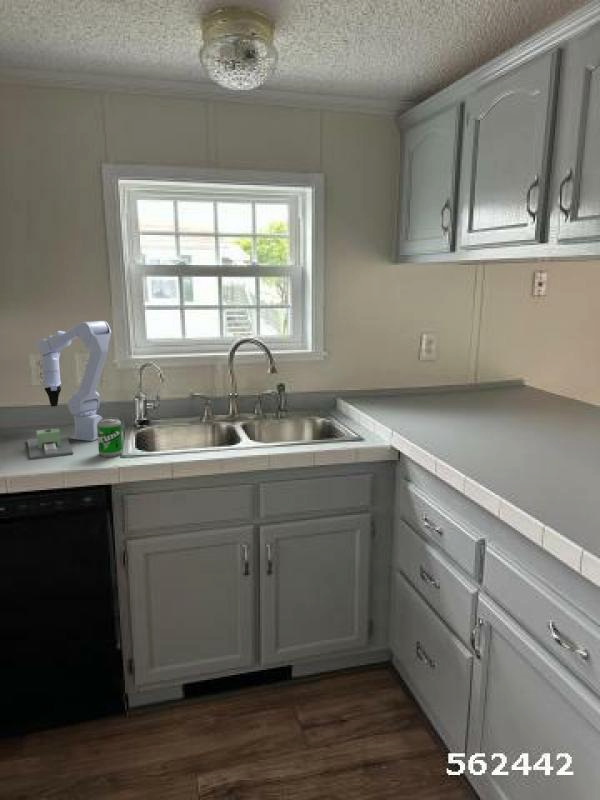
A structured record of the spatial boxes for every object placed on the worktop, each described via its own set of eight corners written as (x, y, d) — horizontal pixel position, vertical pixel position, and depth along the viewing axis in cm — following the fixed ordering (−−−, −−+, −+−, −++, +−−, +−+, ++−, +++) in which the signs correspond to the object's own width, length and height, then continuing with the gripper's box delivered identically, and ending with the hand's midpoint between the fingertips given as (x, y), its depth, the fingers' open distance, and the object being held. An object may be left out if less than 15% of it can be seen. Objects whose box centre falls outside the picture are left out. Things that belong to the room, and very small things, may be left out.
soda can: (102, 450, 187) (100, 416, 184) (124, 450, 188) (123, 416, 185) (96, 457, 180) (93, 422, 177) (119, 457, 180) (117, 422, 178)
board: (66, 437, 202) (66, 431, 201) (72, 454, 183) (72, 447, 182) (27, 441, 196) (26, 435, 195) (29, 459, 177) (29, 452, 176)
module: (59, 442, 193) (58, 426, 192) (60, 446, 189) (59, 430, 187) (37, 444, 190) (36, 428, 188) (38, 448, 185) (37, 432, 184)
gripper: (38, 368, 210) (41, 403, 212) (40, 374, 197) (43, 410, 200) (58, 367, 213) (61, 401, 216) (61, 373, 200) (64, 409, 203)
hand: (54, 406), depth 208 cm, fingers closed
